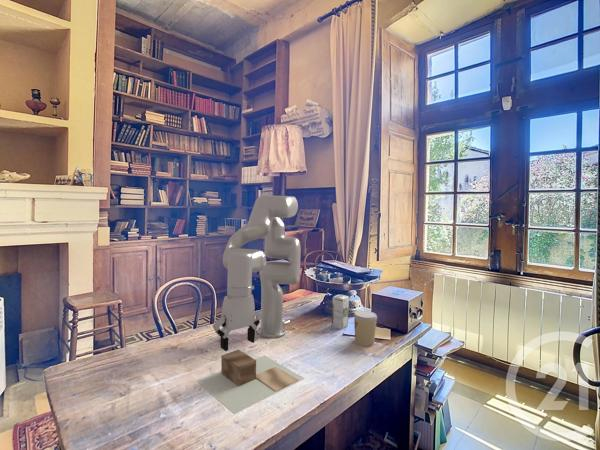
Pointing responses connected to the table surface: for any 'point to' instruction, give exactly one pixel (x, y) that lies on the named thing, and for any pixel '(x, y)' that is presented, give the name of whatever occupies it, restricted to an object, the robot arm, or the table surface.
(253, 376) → the walnut cover
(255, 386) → the sage board
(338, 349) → the table surface
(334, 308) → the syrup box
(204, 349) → the table surface
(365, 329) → the coffee cup
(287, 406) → the table surface
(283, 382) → the cork pad
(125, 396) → the table surface
